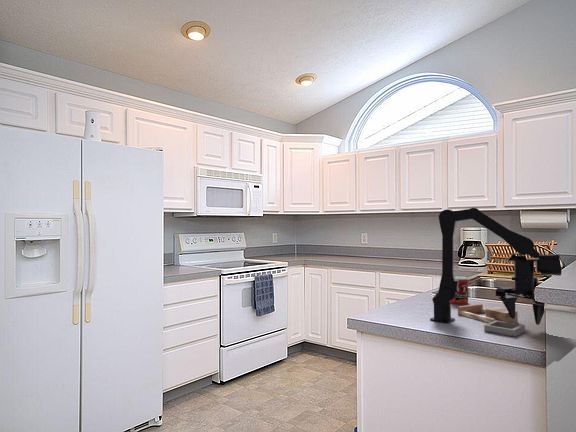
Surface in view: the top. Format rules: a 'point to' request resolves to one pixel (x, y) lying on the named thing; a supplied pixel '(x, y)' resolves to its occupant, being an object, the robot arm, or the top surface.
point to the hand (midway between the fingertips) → (525, 321)
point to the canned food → (461, 291)
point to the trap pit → (504, 328)
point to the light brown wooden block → (501, 315)
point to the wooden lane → (471, 309)
